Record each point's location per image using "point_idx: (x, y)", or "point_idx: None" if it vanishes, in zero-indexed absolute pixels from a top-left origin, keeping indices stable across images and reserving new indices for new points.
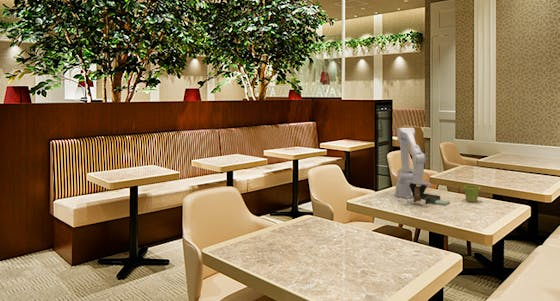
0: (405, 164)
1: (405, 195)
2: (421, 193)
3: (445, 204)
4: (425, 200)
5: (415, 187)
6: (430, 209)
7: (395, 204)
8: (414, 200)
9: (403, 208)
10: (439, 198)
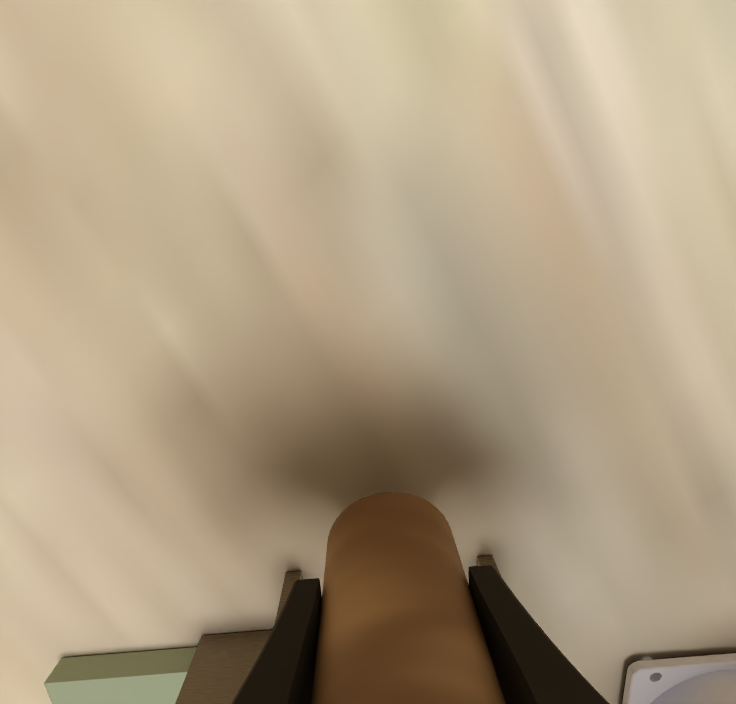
0: None
1: (704, 699)
2: (255, 673)
3: (54, 679)
4: None
5: None
6: (41, 344)
7: (669, 218)
8: None
9: (416, 38)
10: None
